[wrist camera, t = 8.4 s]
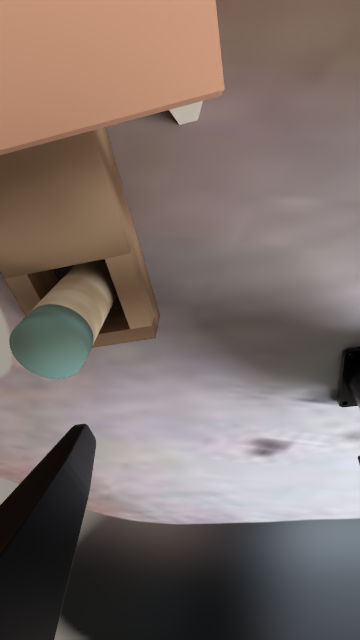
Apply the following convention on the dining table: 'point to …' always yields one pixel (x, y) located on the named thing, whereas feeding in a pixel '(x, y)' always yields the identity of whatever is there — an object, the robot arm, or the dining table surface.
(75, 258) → the socket block
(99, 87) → the footed pink board
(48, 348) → the peg
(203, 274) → the dining table surface
